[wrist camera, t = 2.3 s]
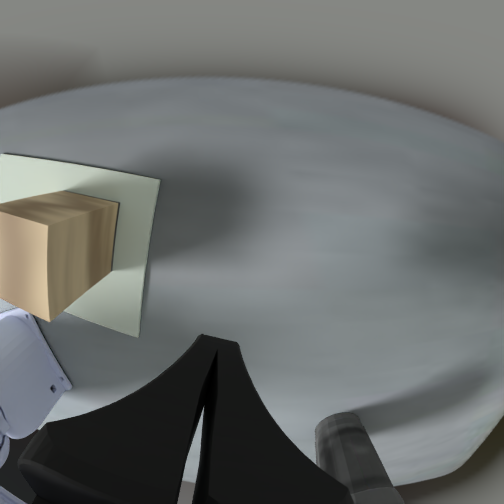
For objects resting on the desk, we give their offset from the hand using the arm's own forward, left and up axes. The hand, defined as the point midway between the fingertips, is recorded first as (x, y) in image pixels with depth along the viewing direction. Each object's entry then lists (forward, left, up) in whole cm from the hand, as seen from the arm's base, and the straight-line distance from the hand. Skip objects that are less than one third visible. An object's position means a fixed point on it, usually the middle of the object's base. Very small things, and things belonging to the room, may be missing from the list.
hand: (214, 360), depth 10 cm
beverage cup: (-19, -4, -11) cm, 22 cm away
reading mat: (+6, +13, -10) cm, 18 cm away
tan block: (+5, +10, -10) cm, 15 cm away
